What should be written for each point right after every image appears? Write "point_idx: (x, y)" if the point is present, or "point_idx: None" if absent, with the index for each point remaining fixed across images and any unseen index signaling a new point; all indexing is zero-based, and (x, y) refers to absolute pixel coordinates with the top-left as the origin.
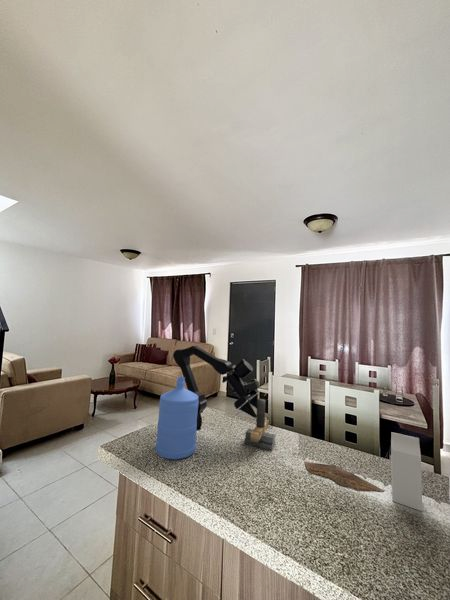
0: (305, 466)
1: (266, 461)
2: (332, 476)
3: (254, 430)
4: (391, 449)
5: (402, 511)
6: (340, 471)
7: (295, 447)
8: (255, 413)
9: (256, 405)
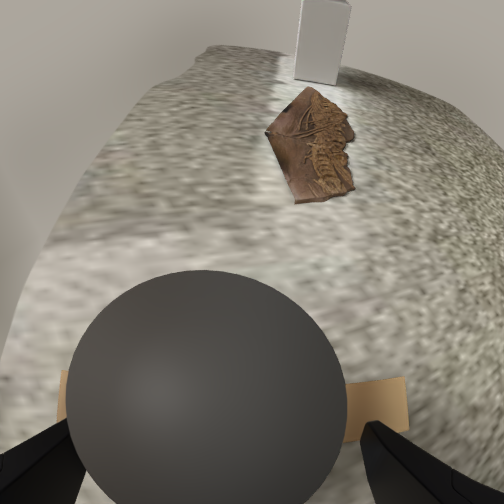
0: (324, 199)
1: (387, 332)
2: (332, 142)
3: (355, 428)
4: (323, 9)
5: (352, 85)
6: (289, 127)
7: (175, 244)
8: (382, 441)
9: (53, 500)
